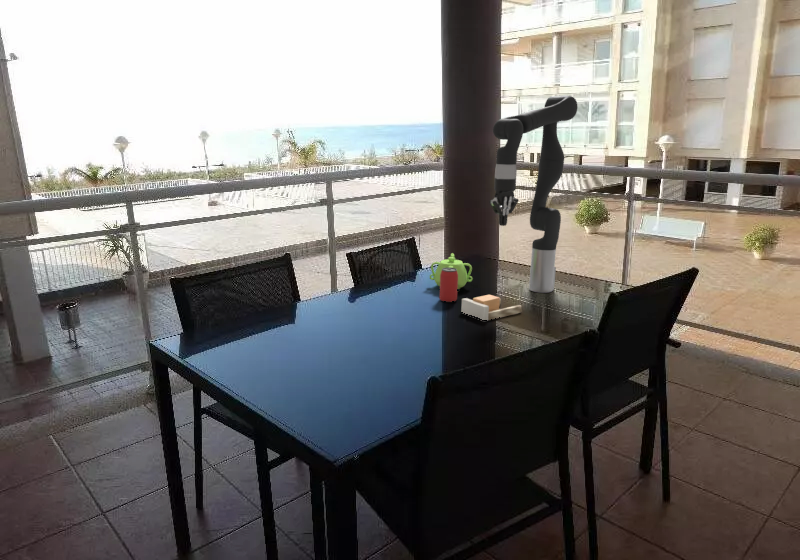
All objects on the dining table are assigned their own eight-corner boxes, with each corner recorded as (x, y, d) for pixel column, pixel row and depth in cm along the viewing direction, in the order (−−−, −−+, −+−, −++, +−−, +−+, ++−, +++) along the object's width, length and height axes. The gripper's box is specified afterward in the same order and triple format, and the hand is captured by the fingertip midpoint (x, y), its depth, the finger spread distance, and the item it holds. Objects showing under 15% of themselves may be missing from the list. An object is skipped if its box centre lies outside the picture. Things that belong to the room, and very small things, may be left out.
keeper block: (488, 310, 207) (489, 294, 205) (498, 314, 203) (499, 297, 202) (472, 314, 202) (473, 298, 201) (482, 318, 198) (483, 301, 197)
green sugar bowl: (423, 285, 239) (424, 255, 236) (451, 280, 246) (452, 251, 243) (446, 294, 226) (447, 263, 223) (475, 289, 233) (476, 259, 230)
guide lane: (498, 304, 214) (498, 298, 213) (521, 312, 205) (521, 305, 204) (465, 311, 205) (465, 304, 204) (488, 320, 196) (488, 313, 195)
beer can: (457, 298, 221) (458, 267, 218) (456, 303, 215) (458, 271, 212) (439, 297, 222) (440, 266, 219) (439, 302, 215) (440, 270, 212)
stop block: (465, 311, 205) (466, 298, 204) (488, 320, 196) (488, 306, 195) (461, 312, 204) (461, 298, 202) (483, 321, 195) (484, 307, 193)
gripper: (510, 175, 213) (508, 222, 217) (484, 177, 205) (482, 225, 210) (526, 177, 207) (523, 225, 212) (499, 178, 200) (497, 228, 204)
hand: (502, 225), depth 211 cm, fingers closed
